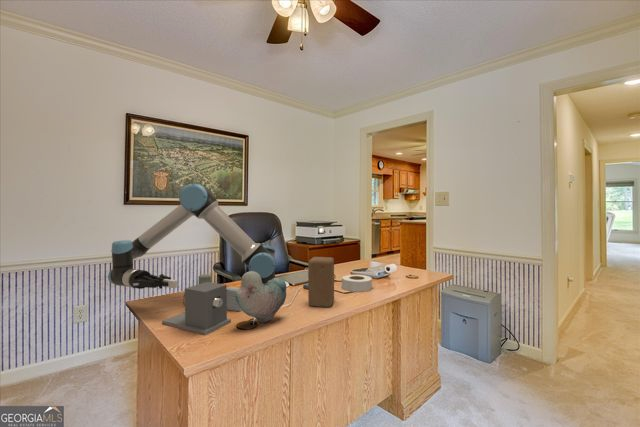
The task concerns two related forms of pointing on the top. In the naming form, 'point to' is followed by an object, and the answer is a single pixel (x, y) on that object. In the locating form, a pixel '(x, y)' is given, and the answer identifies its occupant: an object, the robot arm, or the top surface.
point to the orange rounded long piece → (216, 301)
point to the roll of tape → (357, 283)
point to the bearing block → (202, 309)
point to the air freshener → (205, 278)
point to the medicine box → (232, 299)
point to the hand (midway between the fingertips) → (175, 284)
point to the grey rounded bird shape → (260, 296)
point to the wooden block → (321, 281)
